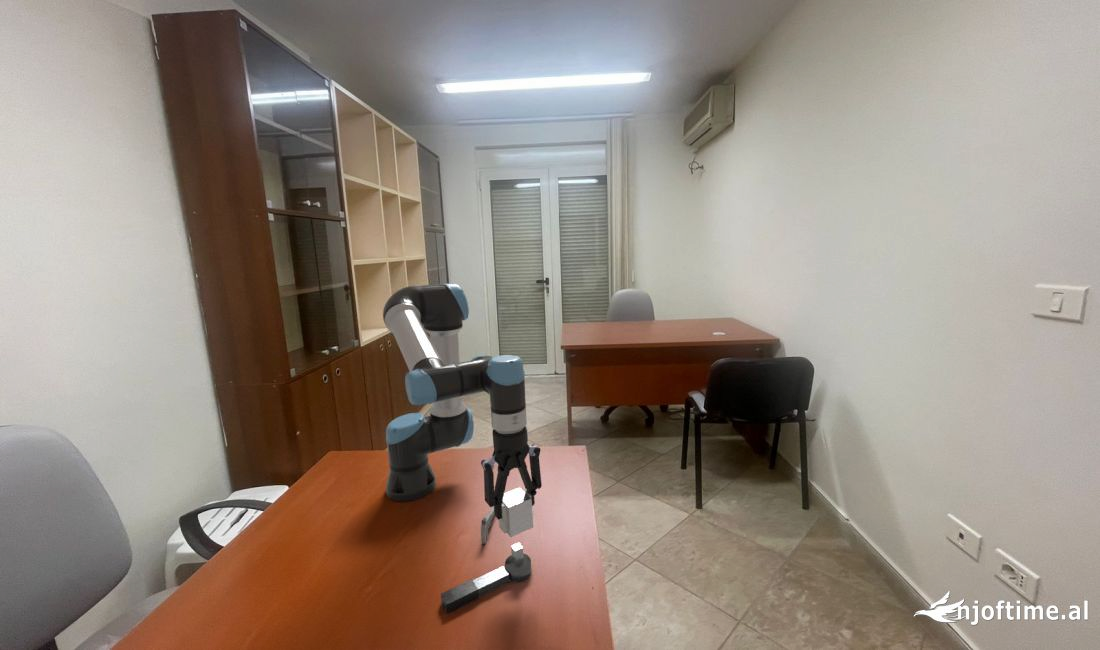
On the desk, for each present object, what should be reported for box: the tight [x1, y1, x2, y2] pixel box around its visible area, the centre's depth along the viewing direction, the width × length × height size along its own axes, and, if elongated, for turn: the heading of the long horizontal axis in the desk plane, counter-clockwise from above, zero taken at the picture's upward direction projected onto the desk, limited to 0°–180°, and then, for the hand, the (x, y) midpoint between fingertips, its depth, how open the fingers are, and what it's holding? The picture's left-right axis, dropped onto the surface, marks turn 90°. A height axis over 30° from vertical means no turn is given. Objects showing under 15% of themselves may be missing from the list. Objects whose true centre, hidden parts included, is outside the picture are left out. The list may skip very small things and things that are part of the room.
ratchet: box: [440, 542, 532, 615], centre depth 90 cm, size 6×20×6 cm, turn 122°
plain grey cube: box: [503, 487, 534, 538], centre depth 91 cm, size 6×6×7 cm
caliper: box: [480, 506, 495, 545], centre depth 113 cm, size 20×1×6 cm, turn 175°
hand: (515, 524), depth 92 cm, fingers closed on plain grey cube, 6 cm apart
